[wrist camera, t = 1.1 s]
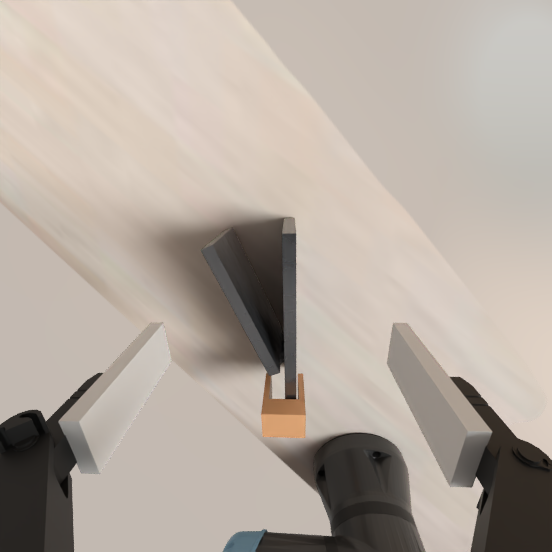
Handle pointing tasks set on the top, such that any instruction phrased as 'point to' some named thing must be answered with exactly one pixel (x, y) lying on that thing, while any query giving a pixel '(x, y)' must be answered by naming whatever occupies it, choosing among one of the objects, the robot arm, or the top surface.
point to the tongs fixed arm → (289, 306)
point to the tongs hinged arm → (246, 297)
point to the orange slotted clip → (283, 413)
